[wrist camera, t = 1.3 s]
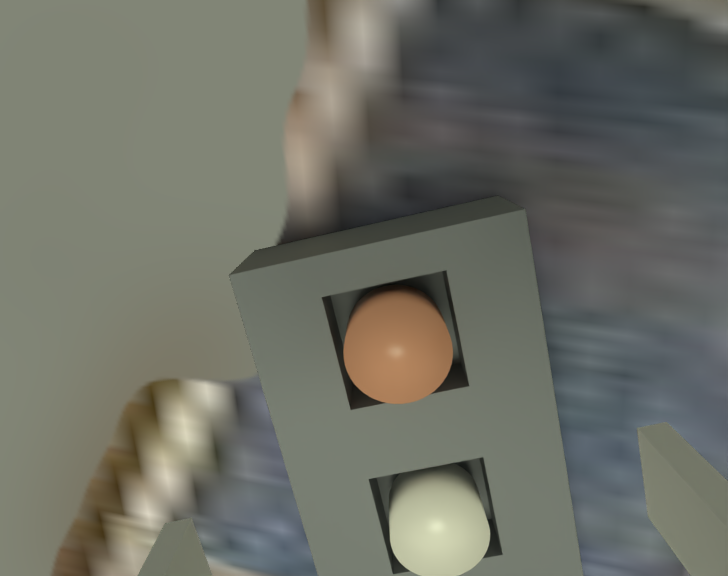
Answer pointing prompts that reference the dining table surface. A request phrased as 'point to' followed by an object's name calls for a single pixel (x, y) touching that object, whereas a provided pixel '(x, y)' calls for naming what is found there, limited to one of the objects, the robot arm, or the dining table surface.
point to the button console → (428, 415)
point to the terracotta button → (397, 345)
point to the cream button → (437, 521)
